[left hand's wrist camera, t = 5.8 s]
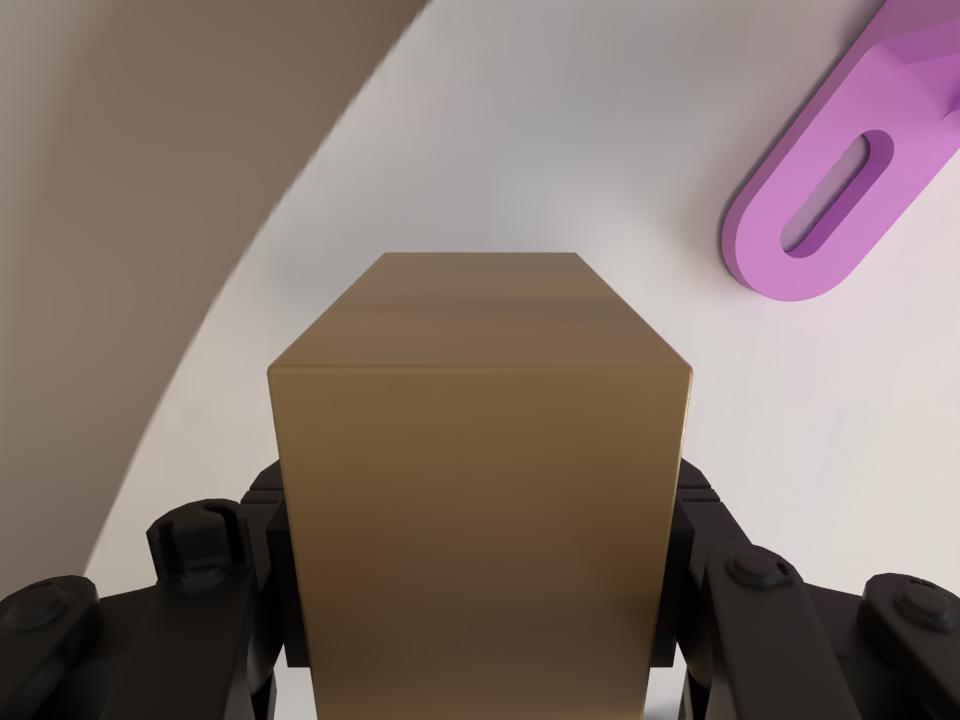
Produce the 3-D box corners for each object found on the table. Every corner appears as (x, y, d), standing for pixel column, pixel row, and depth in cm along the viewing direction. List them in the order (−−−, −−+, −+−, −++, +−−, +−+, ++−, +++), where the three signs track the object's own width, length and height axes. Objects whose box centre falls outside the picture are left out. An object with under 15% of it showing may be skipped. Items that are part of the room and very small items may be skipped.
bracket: (920, -45, 20) (1129, -141, 14) (1019, 45, 21) (1257, -5, 15) (695, 251, 24) (776, 285, 18) (788, 316, 25) (896, 371, 19)
